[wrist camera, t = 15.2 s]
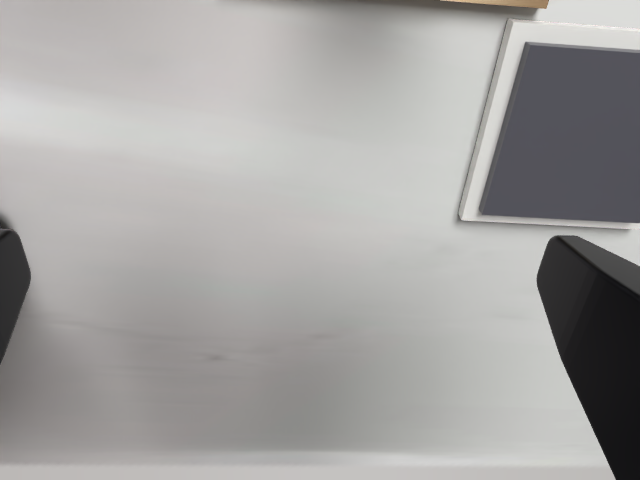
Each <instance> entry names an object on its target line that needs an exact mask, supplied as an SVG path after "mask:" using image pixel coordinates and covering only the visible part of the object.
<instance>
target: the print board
mask: <svg viewBox="0 0 640 480" xmlns="http://www.w3.org/2000/svg"><path fill="white" fill-rule="evenodd" d="M442 1H455V2H467V3H480V4H493V5H506V6H519V7H531V8H544V9H546V8H547V5H548V1H549V0H442Z"/></svg>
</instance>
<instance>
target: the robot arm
mask: <svg viewBox="0 0 640 480" xmlns="http://www.w3.org/2000/svg"><path fill="white" fill-rule="evenodd" d="M30 280H31V273H30V268H29V265H28V261H27V258H26V255H25V252H24V249H23V246H22V243H21V240H20V237H19V235H18V234H17V232H15V231H14V230H12V229H2V226H1V223H0V364H1V362H2V359H3V357H4V354H5V352H6V349H7V346H8V344H9V341H10V338H11V335H12V333H13V330H14V327H15V324H16V321H17V319H18V316H19V313H20V310H21V307H22V305H23V302H24V299H25V296H26V293H27V291H28V288H29V285H30ZM537 287H538V290H539V293H540V297H541V300H542V303H543V306H544V309H545V312H546V315H547V318H548V321H549V324H550V327H551V330H552V334H553V337H554V340H555V343H556V346H557V349H558V352H559V354H560V357H561V360H562V362H563V364H564V367H565V369H566V371H567V374H568V376H569V378H570V380H571V382H572V385H573V387H574V389H575V391H576V393H577V396H578V398H579V400H580V402H581V404H582V407H583V409H584V411H585V413H586V415H587V417H588V420H589V422H590V424H591V426H592V428H593V431H594V433H595V435H596V437H597V439H598V442H599V444H600V446H601V448H602V450H603V452H604V455H605V457H606V459H607V461H608V463H609V466H610V468H611V470H612V472H613V474H614V476H615V479H616V480H640V266H638V265H636V264H634V263H632V262H630V261H628V260H626V259H624V258H622V257H619V256H617V255H615V254H613V253H611V252H609V251H607V250H605V249H603V248H601V247H599V246H597V245H595V244H593V243H591V242H589V241H587V240H584V239H582V238H580V237H578V236H562V235H558V236H554V237H552V238H551V239H550V240H549V241H548V244H547V246H546V249H545V252H544V255H543V258H542V261H541V264H540V267H539V270H538V274H537Z"/></svg>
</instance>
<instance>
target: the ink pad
mask: <svg viewBox="0 0 640 480" xmlns="http://www.w3.org/2000/svg"><path fill="white" fill-rule="evenodd" d="M458 214H459V216H460V218H461V220H465V221H484V222H504V223H523V224H542V225H561V226H580V227H599V228H619V229H638V230H640V29H638V28H625V27H612V26H599V25H585V24H572V23H559V22H546V21H533V20H520V19H508V20H507V24H506V28H505V32H504V36H503V40H502V44H501V47H500V51H499V55H498V59H497V63H496V67H495V71H494V75H493V79H492V83H491V86H490V90H489V94H488V98H487V102H486V106H485V110H484V114H483V118H482V122H481V126H480V129H479V133H478V137H477V141H476V145H475V149H474V153H473V157H472V161H471V165H470V168H469V172H468V176H467V180H466V184H465V188H464V192H463V196H462V200H461V204H460V207H459V211H458Z"/></svg>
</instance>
